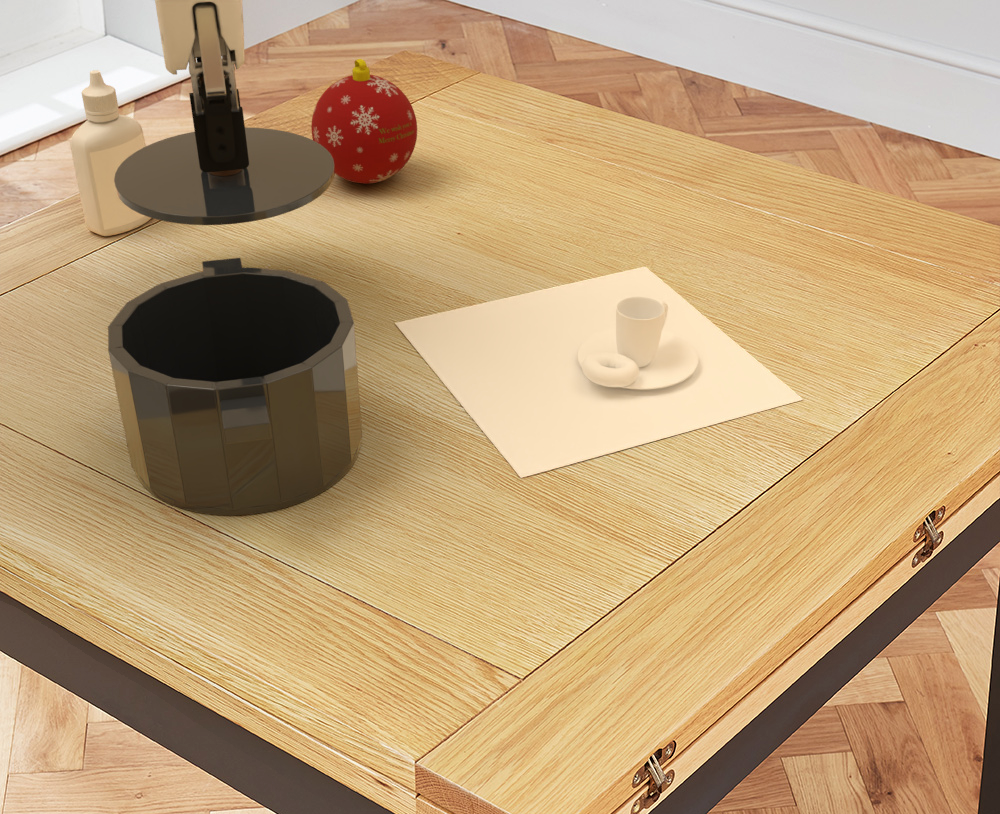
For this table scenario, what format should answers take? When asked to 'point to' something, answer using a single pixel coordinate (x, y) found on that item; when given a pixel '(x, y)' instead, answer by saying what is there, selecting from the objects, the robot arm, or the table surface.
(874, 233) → the table surface
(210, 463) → the dark grey open cylinder
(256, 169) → the lid
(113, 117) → the eye dropper bottle
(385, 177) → the christmas ornament
